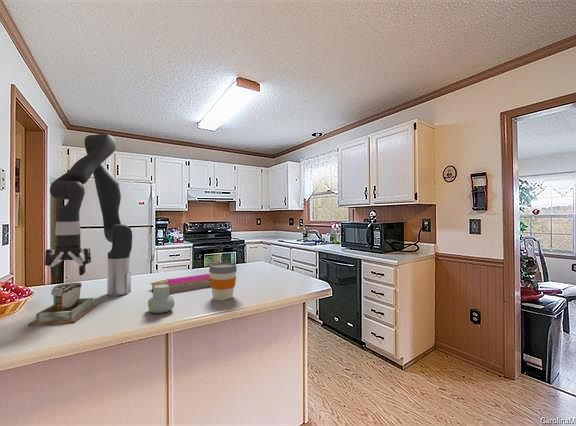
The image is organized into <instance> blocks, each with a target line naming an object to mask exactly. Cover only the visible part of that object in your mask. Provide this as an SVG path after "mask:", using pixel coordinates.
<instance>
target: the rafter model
mask: <svg viewBox="0 0 576 426" xmlns="http://www.w3.org/2000/svg"><path fill="white" fill-rule="evenodd" d="M209 280H210V273H205V274H198V275H197V274H196V275H190V276H189V275H188V276H183V277H174V278H166V279H163V280H159V281H154V282H150V283H149V284H150V285H151V286H152V287H151V288H152V289H151V290H153V287H154V286H156V285H161V284H166V285H169V295H170V294H174V293H175V294H176V293H180V292H181V291H182V292H186V290H188V291H193V290H198V289H197V288H199V289H203V288H202V287H205V288H208V287H207V286H211V285H210V281H209ZM185 284H186V285H185ZM179 285H180V286H179ZM192 289H193V290H192Z"/></svg>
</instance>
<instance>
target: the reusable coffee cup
mask: <svg viewBox="0 0 576 426" xmlns="http://www.w3.org/2000/svg"><path fill="white" fill-rule="evenodd" d="M237 271H238V270H237V264H236V263H233V262H217V263H211V264H209V271H208V272H209V274H210V285H211V287H210V288H211V293H212V299H213V298H214V299H213V300H215V299H219V300H218V301H223V300H222V299H228V300H230V299H229V298H231V297H232V298H233V296H234V289H235V286H236V280H237V276H236V275H237V274H236V273H237ZM232 298H231V299H232Z"/></svg>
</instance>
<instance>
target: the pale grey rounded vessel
mask: <svg viewBox="0 0 576 426" xmlns="http://www.w3.org/2000/svg"><path fill="white" fill-rule="evenodd" d="M147 306H148V307H147V308H148V310H149V312H150V313H153V314H164V313H167V312H169V311H172V309H174V307H175V299H174V297H173V296H172V295H170V294H169V285H166V284H161V285H156V286H154V287H153V291H152V297H150V298H149V299H148V301H147Z"/></svg>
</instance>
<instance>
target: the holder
mask: <svg viewBox="0 0 576 426" xmlns="http://www.w3.org/2000/svg"><path fill="white" fill-rule="evenodd" d="M99 304H100V302H94V297H86V298H84V297H83V298H82V297H81V298H80V297H79V306H77V307H76V308H74V309H73V310H71V311H63V312H54V303H53V304H51V305H50V306H48V307H46V308H44V309H42V310H41V311H39V312H37V313H35V314H36V315H35V319H34V320H32V321H29V322H28V323H27V326H28V327H33V326H34V327H35V326H50V325H62V324H75V323H77V322H78V321H79V320H81V319H82V318H83V317H85V316H86V315H88V313H90V312H91V311H93V310H94V309H95V308H96V307H99V306H100V305H99Z"/></svg>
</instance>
